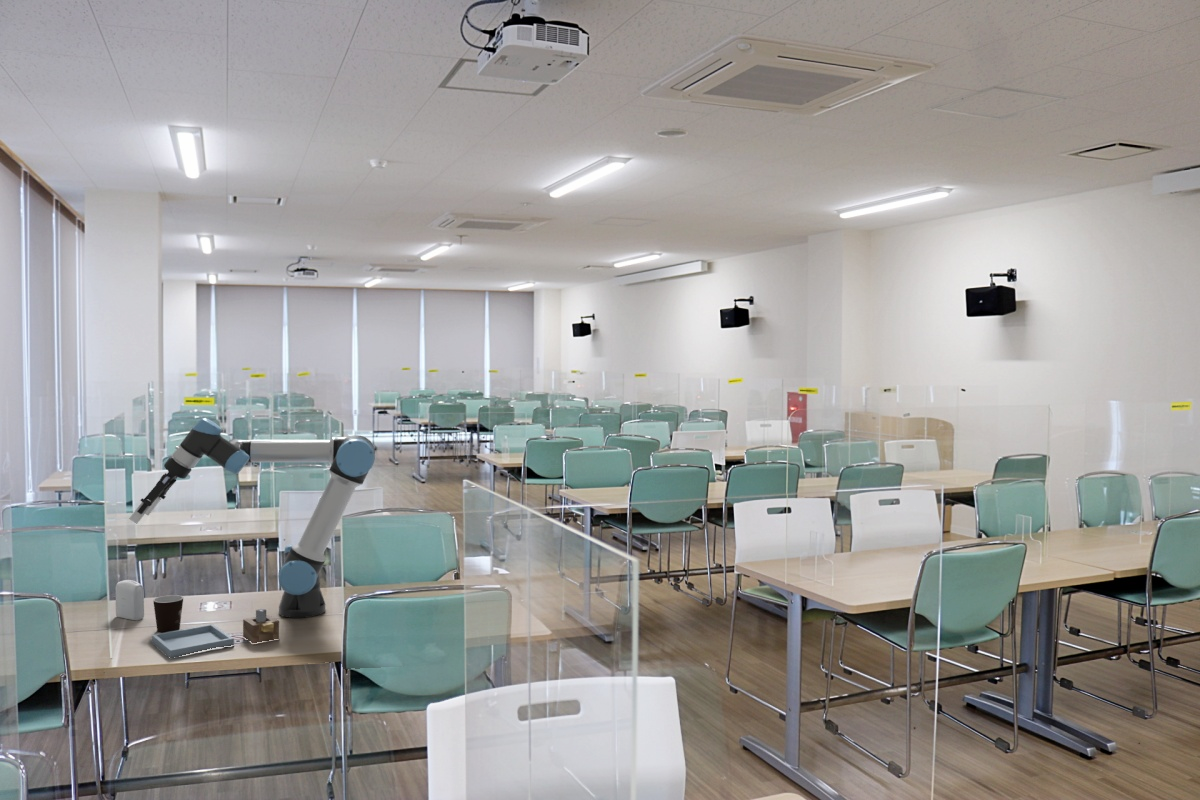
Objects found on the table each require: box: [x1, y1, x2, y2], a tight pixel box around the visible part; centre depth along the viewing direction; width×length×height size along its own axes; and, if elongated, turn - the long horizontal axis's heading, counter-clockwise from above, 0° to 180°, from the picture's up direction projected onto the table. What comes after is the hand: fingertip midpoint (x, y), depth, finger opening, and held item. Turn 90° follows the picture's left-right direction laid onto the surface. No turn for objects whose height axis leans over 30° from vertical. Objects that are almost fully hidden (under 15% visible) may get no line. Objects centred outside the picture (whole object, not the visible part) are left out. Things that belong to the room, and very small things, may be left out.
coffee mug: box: [152, 594, 184, 634], centre depth 291 cm, size 12×9×10 cm
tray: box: [151, 623, 235, 659], centre depth 277 cm, size 18×18×2 cm
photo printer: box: [114, 579, 145, 621], centre depth 301 cm, size 10×4×12 cm, turn 63°
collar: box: [242, 614, 280, 643], centre depth 282 cm, size 8×10×6 cm
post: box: [255, 608, 267, 623], centre depth 283 cm, size 3×3×9 cm
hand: (138, 517), depth 287 cm, fingers open, 13 cm apart
